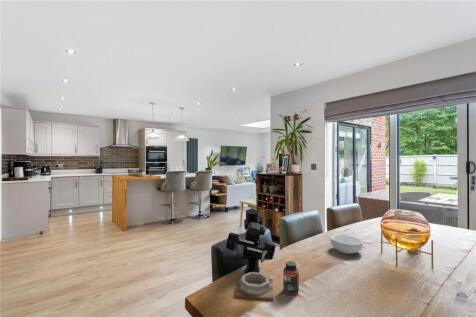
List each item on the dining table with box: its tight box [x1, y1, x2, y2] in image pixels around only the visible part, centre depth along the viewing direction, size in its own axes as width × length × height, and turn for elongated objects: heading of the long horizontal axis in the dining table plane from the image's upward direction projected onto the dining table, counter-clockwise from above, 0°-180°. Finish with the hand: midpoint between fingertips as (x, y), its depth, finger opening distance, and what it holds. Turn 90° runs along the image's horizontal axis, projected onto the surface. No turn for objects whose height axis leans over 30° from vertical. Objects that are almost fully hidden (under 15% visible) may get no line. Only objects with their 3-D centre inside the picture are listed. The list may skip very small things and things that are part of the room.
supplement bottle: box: [282, 260, 300, 296], centre depth 94 cm, size 6×6×11 cm
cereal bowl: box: [329, 234, 363, 255], centre depth 136 cm, size 17×17×7 cm
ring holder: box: [235, 272, 274, 302], centre depth 95 cm, size 14×14×4 cm
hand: (249, 258), depth 85 cm, fingers open, 9 cm apart
